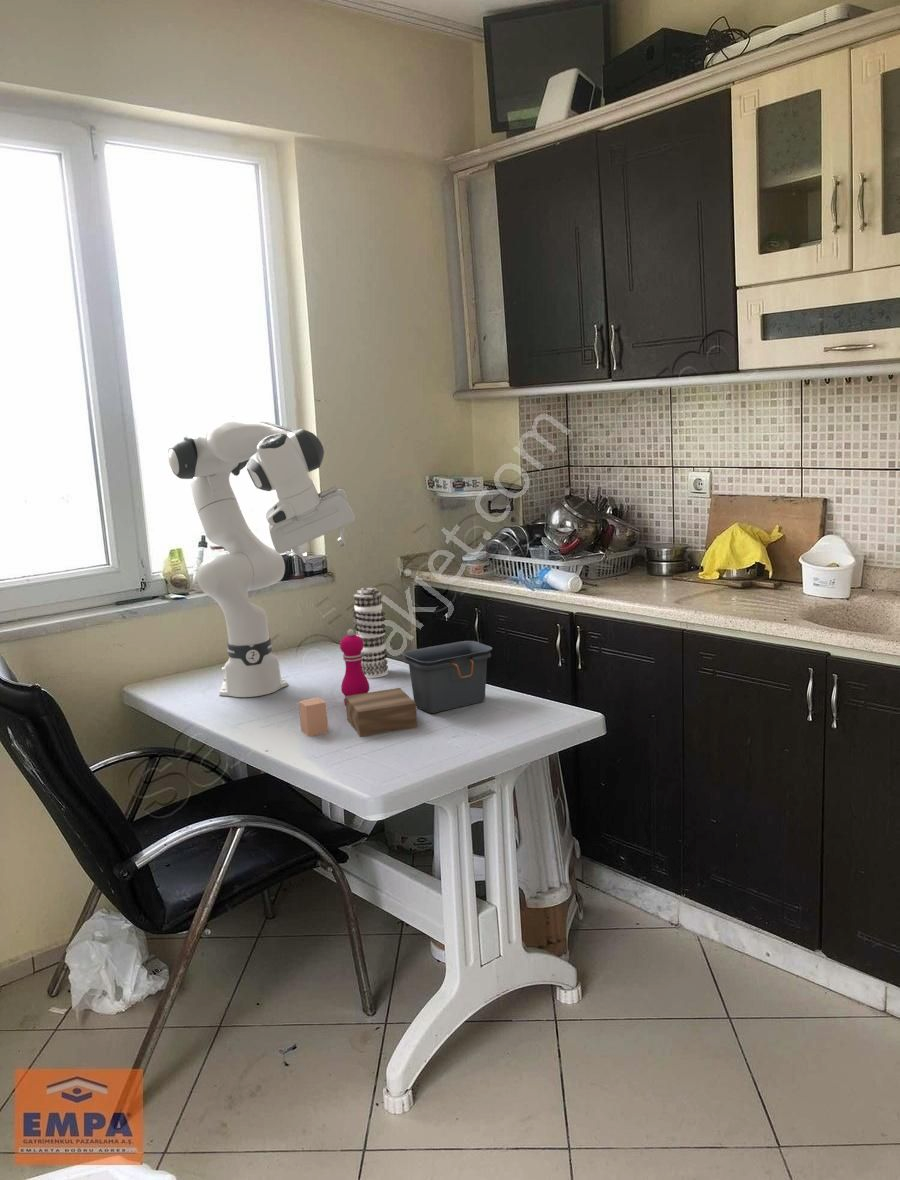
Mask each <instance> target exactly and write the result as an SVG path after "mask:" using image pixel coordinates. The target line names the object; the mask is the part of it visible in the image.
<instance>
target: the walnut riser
mask: <svg viewBox="0 0 900 1180" xmlns="http://www.w3.org/2000/svg"><path fill="white" fill-rule="evenodd" d="M344 698H345V701H346V706H345V709H346V721H348V723H349V725H350V726H352V729H354V731H355V732H356V734H358V736H359V738H360V737H362V738H363V737H366V736H373V735H379V734H384V733H391V732H398V731H403V730H409V729H413V728H418V717H417V716H418V714H417V707H416V703H415V702H414V699H412V698H411V697H410V696H409V695H408V694H407V693H406V692H405V691H404V690H403V689H402V688H401V687H396V688H389V689H383V690H377V691H371V692H370V691H368V693H363V694H356V695H350V696H345V695H344Z"/></svg>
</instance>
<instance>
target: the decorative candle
mask: <svg viewBox="0 0 900 1180" xmlns="http://www.w3.org/2000/svg"><path fill="white" fill-rule="evenodd" d="M382 593H383V592H381V591H379V589H378V588H376V587H374V586H373V587H372V586H371V587H369V586H368V587H362V588H359V589H357V590H356V592H355V593H354V594H353V597H354V608H352V617H353V618H354V621H353V624H354V628H353V630H356V632H354V635H357V636H359V637H360V638H361V639H362V640H363V644H364V647H363V649H362V651H361V653H362V657H363V658H362V659H361V666H362V670H363V672H364V675H365V676H366V678H367V679H377V678H382V677H385V676H387V675H388V674H389V666H388V660H387V658H388V655H387V654H386V653H387V652H388V650H387V649H386V643H385V636H384V635H386V629H385V627H386V624H384V623H383V622H384V621H386V618H385V614H386V613H385V612H384V611H382V610H383V603H382Z"/></svg>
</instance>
